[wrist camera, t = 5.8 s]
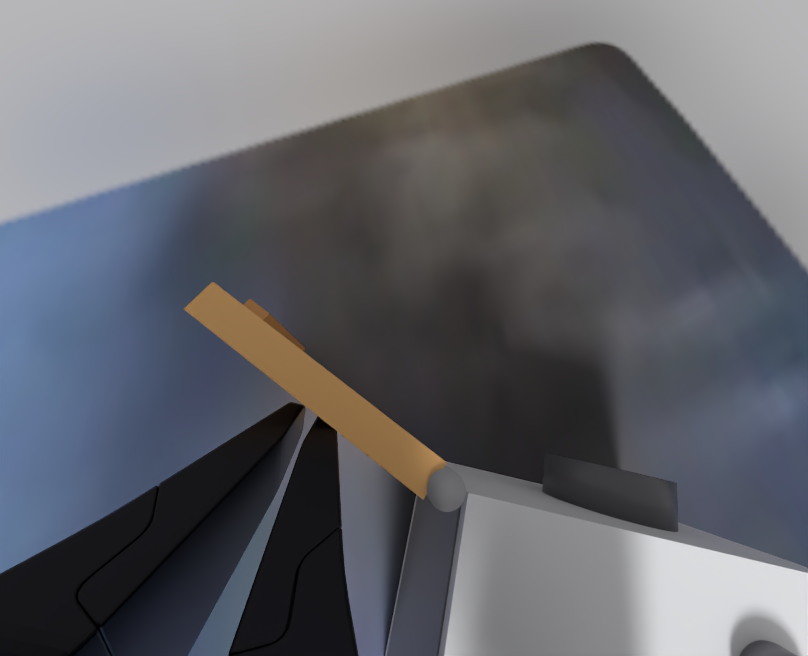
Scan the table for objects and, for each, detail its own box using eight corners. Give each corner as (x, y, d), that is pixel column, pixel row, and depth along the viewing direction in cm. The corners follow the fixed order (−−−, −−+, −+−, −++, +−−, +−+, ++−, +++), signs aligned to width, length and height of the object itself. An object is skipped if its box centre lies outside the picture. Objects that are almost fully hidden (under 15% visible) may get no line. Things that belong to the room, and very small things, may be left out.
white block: (621, 719, 13) (1007, 1193, 5) (381, 665, 12) (389, 1067, 5) (624, 472, 15) (874, 528, 8) (428, 425, 15) (481, 434, 7)
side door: (276, 360, 15) (179, 307, 8) (293, 340, 16) (218, 271, 8) (412, 468, 14) (451, 522, 7) (428, 444, 15) (481, 472, 7)
